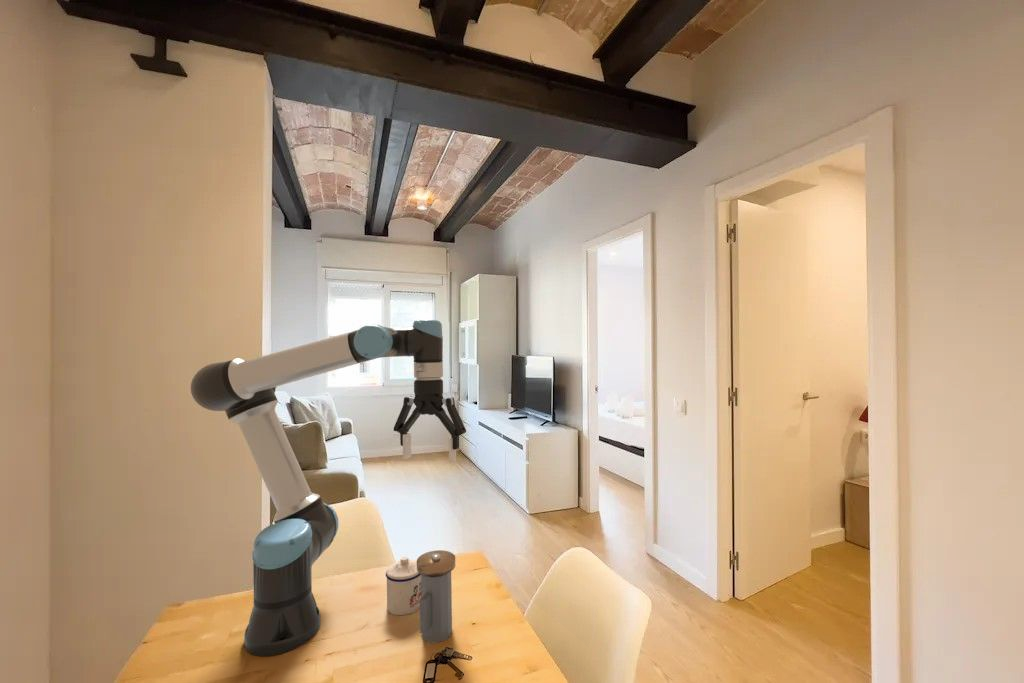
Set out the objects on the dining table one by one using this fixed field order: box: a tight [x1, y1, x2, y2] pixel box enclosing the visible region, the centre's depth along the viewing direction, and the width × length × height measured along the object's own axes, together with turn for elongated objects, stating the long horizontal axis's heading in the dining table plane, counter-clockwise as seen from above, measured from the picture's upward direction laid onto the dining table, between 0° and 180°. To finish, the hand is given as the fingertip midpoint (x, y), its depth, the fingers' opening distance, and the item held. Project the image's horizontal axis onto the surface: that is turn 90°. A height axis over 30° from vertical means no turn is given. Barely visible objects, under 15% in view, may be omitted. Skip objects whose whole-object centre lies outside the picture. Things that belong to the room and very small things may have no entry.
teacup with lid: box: [385, 556, 421, 616], centre depth 109 cm, size 12×9×12 cm
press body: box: [419, 571, 453, 643], centre depth 96 cm, size 7×9×14 cm
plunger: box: [416, 549, 456, 576], centre depth 97 cm, size 9×9×14 cm
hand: (429, 460), depth 113 cm, fingers open, 13 cm apart
